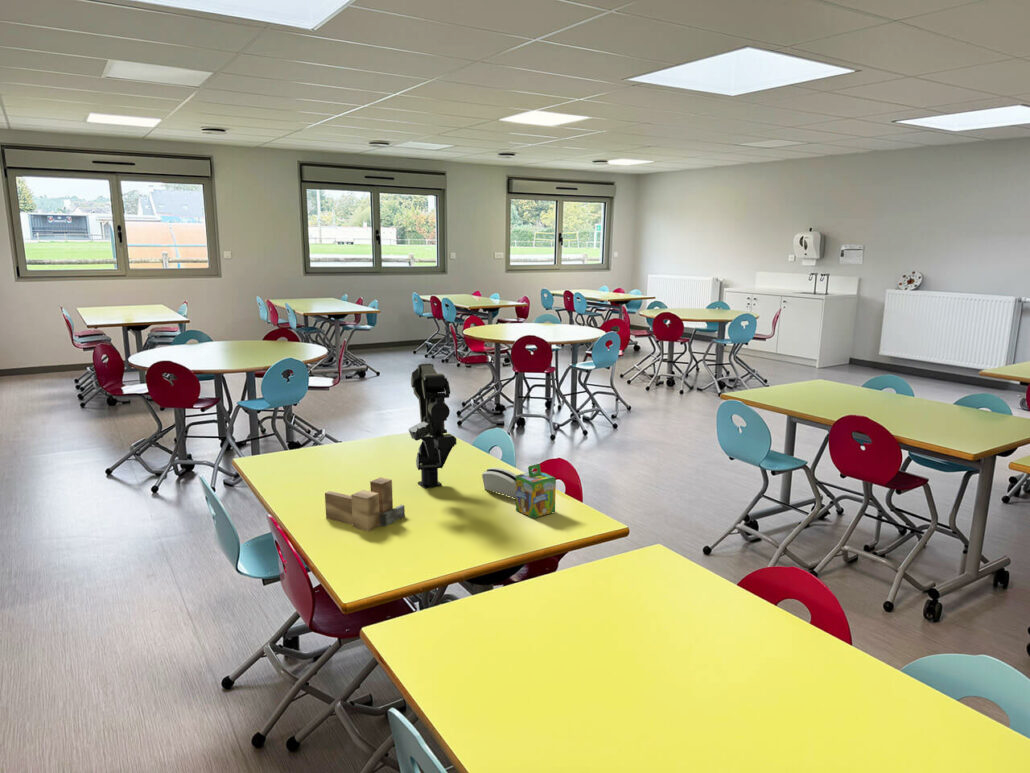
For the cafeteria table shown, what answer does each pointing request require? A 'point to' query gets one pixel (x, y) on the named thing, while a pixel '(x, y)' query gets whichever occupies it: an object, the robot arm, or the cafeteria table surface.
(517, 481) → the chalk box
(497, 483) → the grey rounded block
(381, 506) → the wooden block
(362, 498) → the wooden fixture with frame
